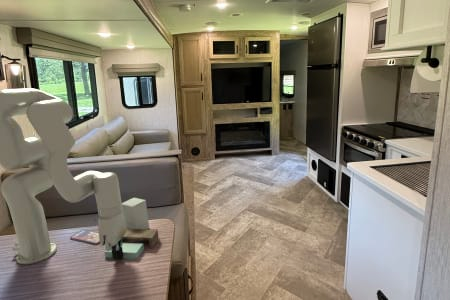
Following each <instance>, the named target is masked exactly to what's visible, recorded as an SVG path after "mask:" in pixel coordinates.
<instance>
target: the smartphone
mask: <svg viewBox="0 0 450 300" xmlns="http://www.w3.org/2000/svg"><path fill="white" fill-rule="evenodd" d="M69 239H70V240H72V241H76V242H77V241H78V242H82V243H85V244H90V245H95V246H96V245H100V241H99V232H98V231H94V230H88V229H82V230H79V232H76V233H75V234H73V235H71V236H70V237H69Z"/></svg>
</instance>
